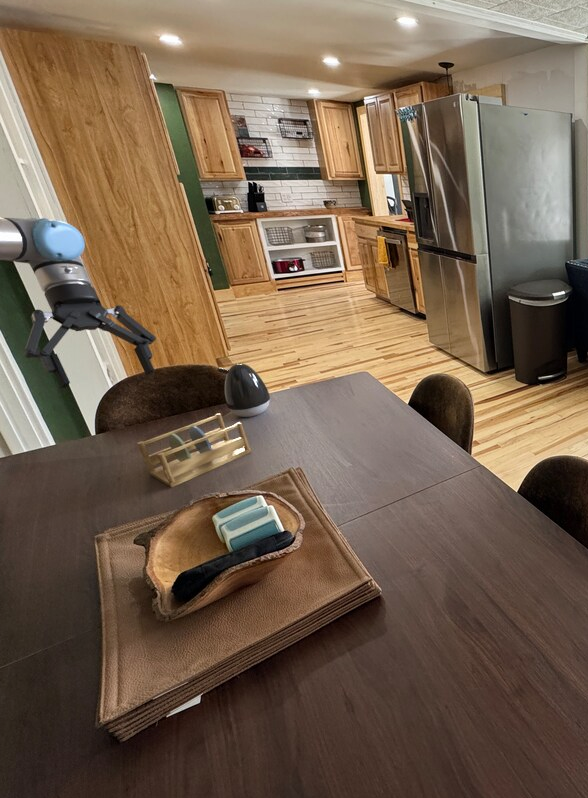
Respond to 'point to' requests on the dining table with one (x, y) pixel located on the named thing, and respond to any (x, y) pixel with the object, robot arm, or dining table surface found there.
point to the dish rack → (199, 460)
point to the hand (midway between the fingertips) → (110, 378)
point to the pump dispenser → (245, 391)
